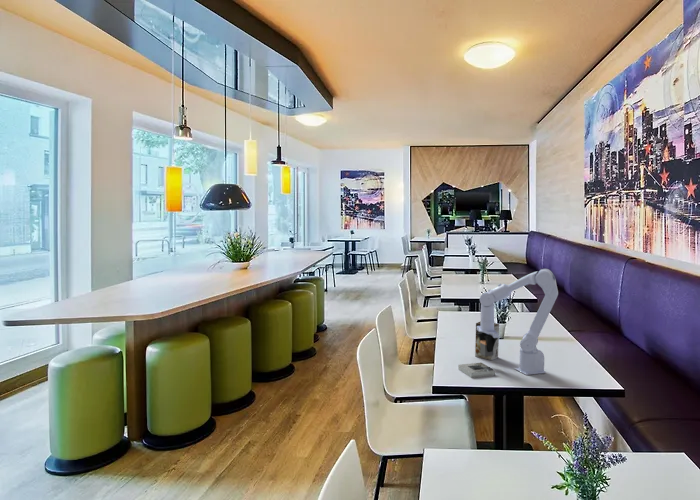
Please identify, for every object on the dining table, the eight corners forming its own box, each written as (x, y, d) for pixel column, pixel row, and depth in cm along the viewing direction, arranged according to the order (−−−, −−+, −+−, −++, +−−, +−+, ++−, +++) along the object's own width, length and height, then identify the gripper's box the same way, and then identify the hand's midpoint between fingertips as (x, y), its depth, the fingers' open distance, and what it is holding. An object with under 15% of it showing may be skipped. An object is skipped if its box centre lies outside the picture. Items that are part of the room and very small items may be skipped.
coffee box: (474, 356, 225) (474, 322, 223) (480, 353, 229) (481, 320, 228) (492, 360, 218) (493, 326, 217) (499, 357, 223) (499, 323, 222)
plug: (488, 352, 213) (488, 339, 212) (493, 355, 209) (493, 341, 209) (480, 353, 212) (480, 340, 211) (485, 356, 208) (485, 342, 208)
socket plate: (481, 366, 210) (481, 361, 209) (495, 375, 199) (495, 369, 199) (458, 369, 207) (458, 363, 207) (471, 377, 196) (471, 372, 196)
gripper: (470, 316, 215) (470, 346, 216) (488, 323, 201) (487, 355, 202) (484, 315, 217) (484, 345, 218) (503, 322, 203) (502, 354, 204)
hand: (487, 350), depth 210 cm, fingers closed on plug, 4 cm apart
